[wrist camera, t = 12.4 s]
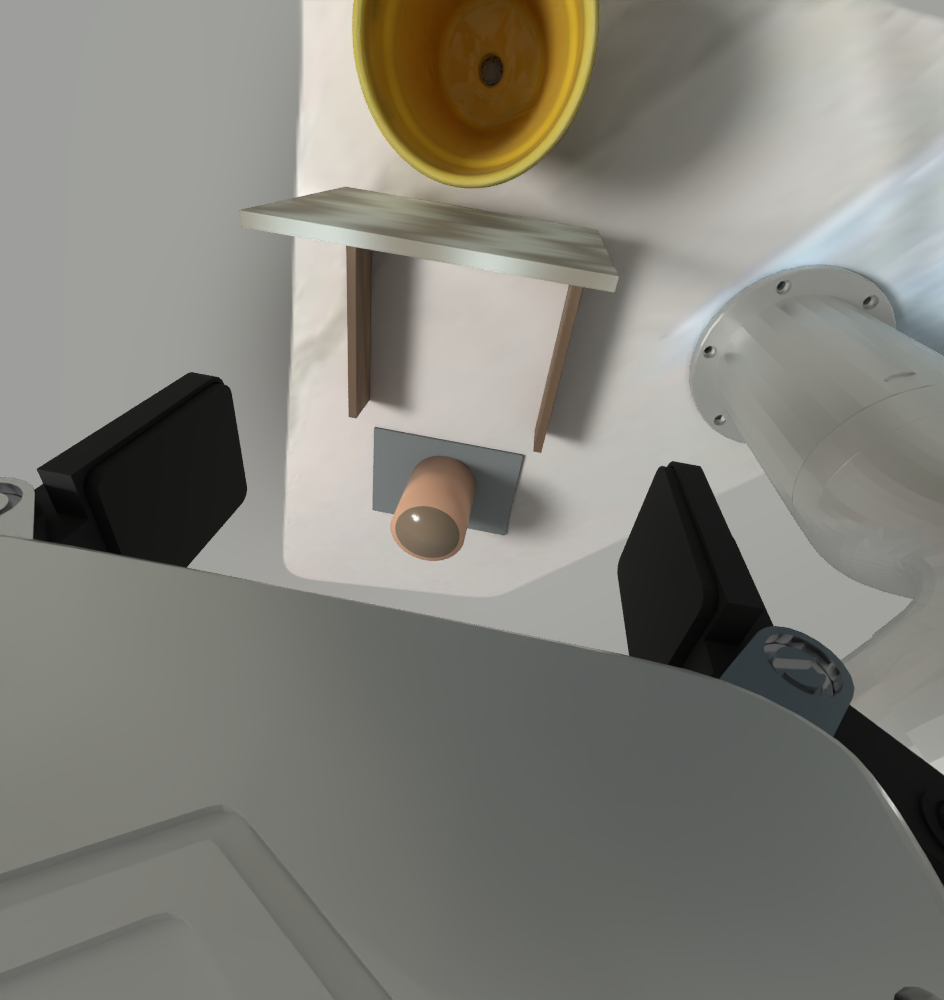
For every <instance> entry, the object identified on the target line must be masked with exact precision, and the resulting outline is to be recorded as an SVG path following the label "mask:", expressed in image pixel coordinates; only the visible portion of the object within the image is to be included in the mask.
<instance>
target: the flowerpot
mask: <svg viewBox="0 0 944 1000" xmlns="http://www.w3.org/2000/svg"><path fill="white" fill-rule="evenodd" d="M475 491H476V482H475V479H474V476H473V474H472V472H471V471H470V470H469V468H468V467H467V466H466V465H464V464H463V463H462V462H460V461H458V460H456V459H454V458H451V457H447V456H432V457H428V458H426V459H424V460H422V461H420V462H419V463H418V464H417V465H416V466H415V468H414V469H413V471H412V474H411V476H410V478H409V481H408V483H407V485H406V488H405V490H404V492H403V495H402V497H401V499H400V501H399V504H398V506H397V508H396V511H395V513H394V515H393V518H392V520H391V533H392V536H393V538H394V540H395V542H396V543H397V544H398V545H399V547H400V548H401V549H403V550H404V551H405V552H407V553H408V554H410V555H412V556H414V557H416V558H419V559H423V560H429V561H438V560H444V559H447V558H449V557H451V556H453V555H455V554H456V553H457V552H458V551H459V550H460V549H461V547H462V545H463V543H464V539H465V534H466V530H467V526H468V521H469V517H470V513H471V508H472V504H473V499H474V495H475Z"/></svg>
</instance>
